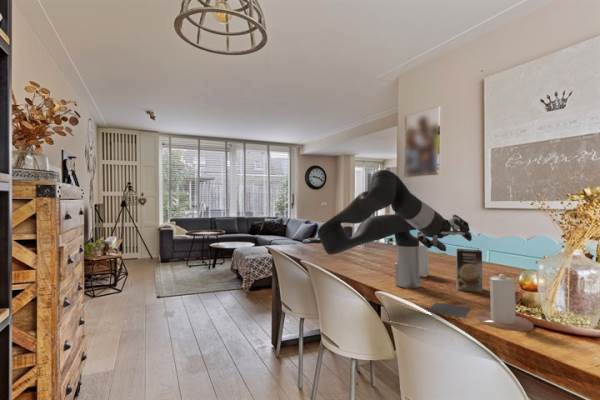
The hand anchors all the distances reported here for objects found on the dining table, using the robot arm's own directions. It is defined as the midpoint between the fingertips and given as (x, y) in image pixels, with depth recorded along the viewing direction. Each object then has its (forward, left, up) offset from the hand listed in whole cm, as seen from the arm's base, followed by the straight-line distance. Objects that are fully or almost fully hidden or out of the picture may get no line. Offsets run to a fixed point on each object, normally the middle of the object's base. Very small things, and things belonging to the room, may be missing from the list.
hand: (457, 243), depth 98 cm
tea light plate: (+12, +1, -22) cm, 25 cm away
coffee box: (-2, +36, -23) cm, 43 cm away
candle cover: (+11, +1, -22) cm, 25 cm away
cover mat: (-3, +3, -22) cm, 23 cm away
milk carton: (-26, +52, -23) cm, 63 cm away
